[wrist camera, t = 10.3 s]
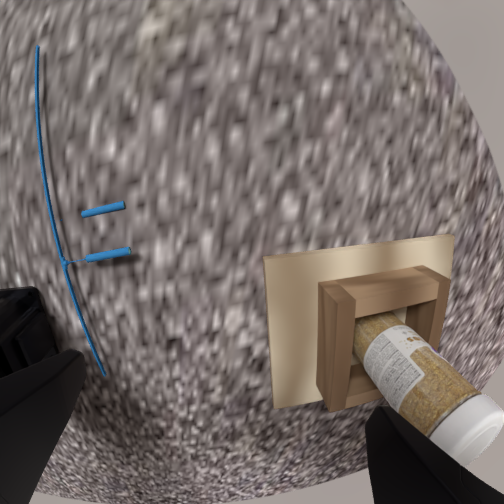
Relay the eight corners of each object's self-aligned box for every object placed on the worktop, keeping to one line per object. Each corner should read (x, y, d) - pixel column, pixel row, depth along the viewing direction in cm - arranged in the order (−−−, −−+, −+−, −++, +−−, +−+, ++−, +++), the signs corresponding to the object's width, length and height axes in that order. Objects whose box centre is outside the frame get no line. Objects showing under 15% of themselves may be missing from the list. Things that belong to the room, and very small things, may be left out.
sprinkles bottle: (403, 315, 22) (516, 415, 9) (371, 360, 23) (462, 476, 10) (365, 294, 21) (492, 410, 8) (331, 344, 22) (423, 483, 9)
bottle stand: (272, 403, 24) (283, 439, 20) (262, 256, 20) (276, 279, 16) (428, 361, 25) (452, 385, 21) (448, 233, 22) (483, 246, 18)
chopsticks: (100, 18, 13) (35, 45, 13) (165, 372, 20) (103, 377, 20) (106, 26, 15) (44, 51, 14) (168, 361, 22) (108, 366, 21)
